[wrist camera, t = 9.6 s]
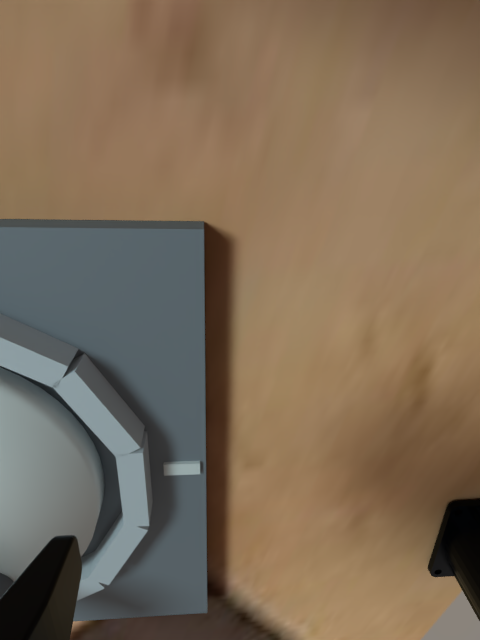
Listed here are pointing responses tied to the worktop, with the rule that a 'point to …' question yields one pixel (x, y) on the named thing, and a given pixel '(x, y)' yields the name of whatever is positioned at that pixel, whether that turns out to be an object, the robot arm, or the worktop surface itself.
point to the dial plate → (122, 392)
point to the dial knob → (42, 476)
